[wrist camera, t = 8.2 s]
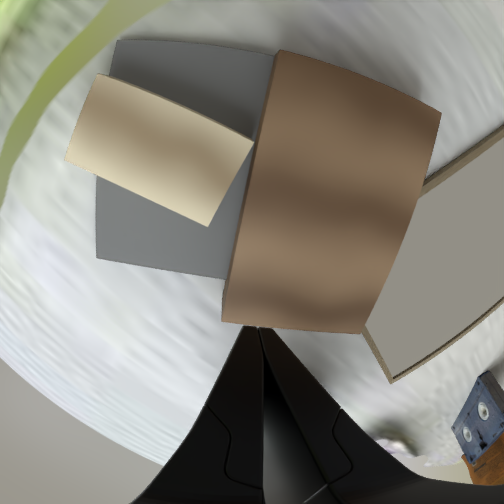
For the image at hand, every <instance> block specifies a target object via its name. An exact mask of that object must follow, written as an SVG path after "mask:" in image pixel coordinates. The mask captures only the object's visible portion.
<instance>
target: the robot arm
mask: <svg viewBox="0 0 504 504" xmlns="http://www.w3.org/2000/svg"><path fill="white" fill-rule="evenodd" d="M340 408H341V407H340V405H339V404H338V403H337V402H336V401H335V400H334V399H333V398H332V397H331V395H330V394H329V393H328V392H327V391H326V390H325V389H324V388H323V386H322V385H321V384H320V383H319V382H318V381H317V380H316V379H315V377H314V376H313V375H312V374H311V373H310V372H309V371H308V369H307V368H306V367H305V366H304V365H303V364H302V363H301V361H300V360H299V359H298V358H297V357H296V356H295V354H294V353H293V352H292V351H291V350H290V349H289V348H288V346H287V345H286V344H285V343H284V342H283V341H282V339H281V338H280V337H279V336H278V335H277V333H276V332H275V331H274V330H273V329H272V328H265V327H259V328H257V327H255V326H243V327H242V328H241V330H240V333H239V335H238V337H237V339H236V341H235V343H234V345H233V347H232V349H231V351H230V353H229V355H228V357H227V359H226V362H225V364H224V366H223V368H222V370H221V372H220V374H219V376H218V378H217V380H216V382H215V384H214V386H213V388H212V390H211V392H210V394H209V396H208V398H207V400H206V402H205V404H204V406H203V408H202V410H201V412H200V414H199V416H198V417H197V419H196V421H195V423H194V425H193V426H192V428H191V430H190V432H189V433H188V435H187V436H186V437H185V439H184V440H183V442H182V443H181V445H180V446H179V448H178V449H177V450H176V451H175V453H174V454H173V455H172V457H171V458H170V459H169V460H168V462H167V463H166V464H165V466H164V467H163V468H162V469H161V471H160V472H159V473H158V475H157V476H156V477H155V478H154V479H153V481H152V482H151V483H150V484H149V485H148V486H147V488H146V489H145V490H144V491H143V492H142V493H141V494H140V495H139V496H138V497H137V498H136V499H134V500H133V501H132V502H131V503H129V504H504V484H501V485H476V484H465V483H456V482H449V481H442V480H435V479H429V478H426V477H423V476H420V475H418V474H416V473H414V472H412V471H411V470H409V469H408V468H407V467H405V466H404V465H403V464H402V463H401V462H399V461H398V460H397V459H396V458H394V457H393V456H392V455H391V454H390V453H388V452H387V451H386V450H385V449H384V448H382V447H381V446H380V445H379V444H378V443H377V442H375V441H374V440H373V439H372V438H371V437H370V436H369V435H368V434H367V433H365V432H364V431H363V430H362V429H361V428H360V427H359V426H358V425H357V424H356V423H355V422H354V421H353V419H352V418H351V417H350V416H349V415H348V414H347V413H346V412H345V411H344V410H343V409H340Z"/></svg>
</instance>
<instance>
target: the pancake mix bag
mask: <svg viewBox="0 0 504 504" xmlns="http://www.w3.org/2000/svg"><path fill="white" fill-rule="evenodd" d="M461 458H462V459H463V460H464V462H465V463H466V465H467V467H468V469H469V473H470V477H471V479H472V482H473V484H476V485H501V484H504V432H503V433H502V434H501V435H500V436H499V438H498V439H497V440H496V441H495V442H494V443H493V444H492V445H491V446H490V447H489V448H488V450H487V451H486V452H485V453H484V454H483V455H482V456H480V457H479V459H477V460H476V461H474V462H473V463H471V464H469V463H468V461H467V459H466V457H465V455H463V456H462V457H461Z"/></svg>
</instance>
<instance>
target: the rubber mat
mask: <svg viewBox="0 0 504 504" xmlns="http://www.w3.org/2000/svg"><path fill="white" fill-rule="evenodd" d="M273 61H274V56H271V55H266V54H262V53H257V52H252V51H246V50H241V49H235V48H229V47H222V46H215V45H207V44H199V43H189V42H177V41H160V40H117V43H116V47H115V51H114V55H113V60H112V65H111V69H110V74H109V76H112V77H114V78H117V79H120V80H123V81H125V82H128V83H130V84H133V85H136V86H138V87H141V88H143V89H146V90H148V91H151V92H153V93H155V94H158V95H160V96H163V97H165V98H167V99H170V100H172V101H174V102H176V103H179V104H181V105H183V106H185V107H188V108H190V109H192V110H194V111H196V112H198V113H201V114H203V115H205V116H207V117H209V118H211V119H213V120H215V121H217V122H219V123H221V124H223V125H225V126H227V127H229V128H231V129H233V130H235V131H237V132H239V133H241V134H243V135H245V136H247V137H249V138H251V139H252V140H253V141H254V144H255V140H256V135H257V131H258V126H259V122H260V117H261V113H262V108H263V104H264V100H265V95H266V91H267V86H268V82H269V78H270V73H271V69H272V65H273ZM254 144H253V146H252V147H251V149H250V151H249V153H248V154H247V156H246V158H245V160H244V161H243V163H242V165H241V167H240V168H239V170H238V172H237V174H236V176H235V177H234V179H233V181H232V183H231V185H230V187H229V188H228V190H227V192H226V194H225V196H224V198H223V199H222V201H221V203H220V205H219V207H218V209H217V211H216V212H215V214H214V216H213V218H212V220H211V222H210V224H209V226H208V227H206V226H204V225H202V224H200V223H198V222H196V221H194V220H191V219H189V218H187V217H185V216H183V215H181V214H179V213H177V212H174V211H172V210H170V209H168V208H166V207H164V206H162V205H160V204H157V203H155V202H153V201H151V200H149V199H147V198H145V197H143V196H140V195H138V194H136V193H134V192H132V191H130V190H128V189H125V188H123V187H121V186H119V185H117V184H115V183H113V182H110V181H108V180H106V179H104V178H102V177H100V176H98V175H97V182H96V258H98V259H104V260H109V261H115V262H120V263H126V264H132V265H138V266H144V267H149V268H155V269H161V270H167V271H174V272H180V273H186V274H192V275H199V276H205V277H212V278H219V279H225V280H227V275H228V270H229V265H230V260H231V255H232V250H233V245H234V240H235V235H236V230H237V225H238V220H239V215H240V210H241V206H242V201H243V196H244V191H245V186H246V182H247V177H248V172H249V168H250V163H251V158H252V154H253V149H254Z"/></svg>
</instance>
